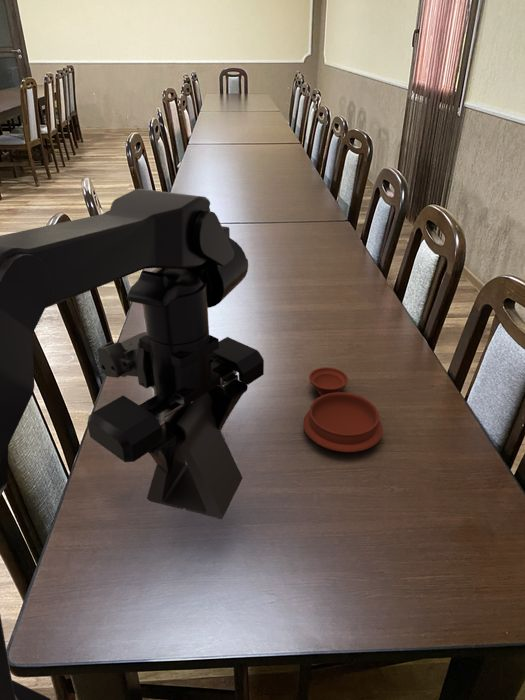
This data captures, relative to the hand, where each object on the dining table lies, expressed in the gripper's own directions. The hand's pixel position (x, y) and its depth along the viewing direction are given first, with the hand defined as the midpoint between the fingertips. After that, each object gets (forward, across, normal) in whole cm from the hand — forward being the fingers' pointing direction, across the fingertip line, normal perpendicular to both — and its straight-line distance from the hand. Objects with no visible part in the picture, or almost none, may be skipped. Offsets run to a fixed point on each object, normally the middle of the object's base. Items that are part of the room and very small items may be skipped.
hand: (189, 455), depth 58 cm
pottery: (+14, -30, 0) cm, 33 cm away
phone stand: (+5, 0, +1) cm, 5 cm away
